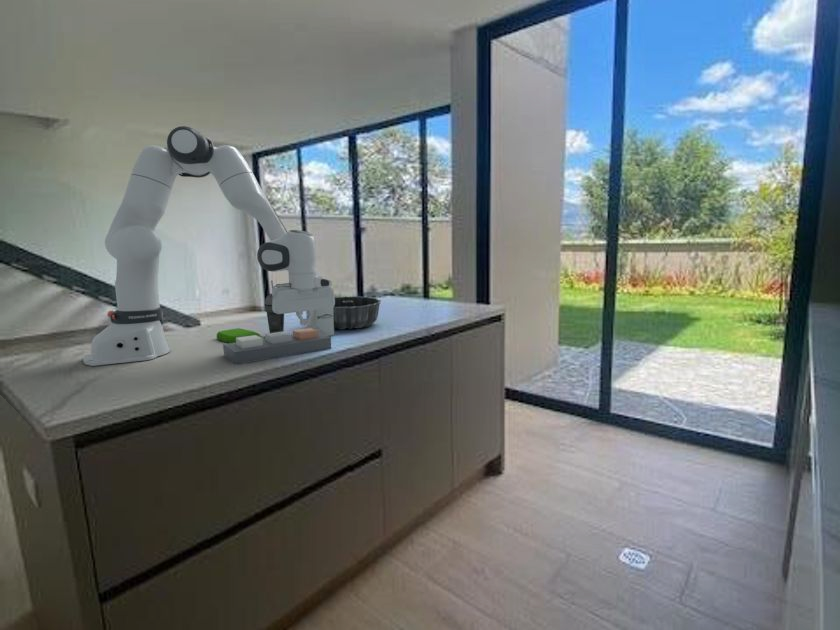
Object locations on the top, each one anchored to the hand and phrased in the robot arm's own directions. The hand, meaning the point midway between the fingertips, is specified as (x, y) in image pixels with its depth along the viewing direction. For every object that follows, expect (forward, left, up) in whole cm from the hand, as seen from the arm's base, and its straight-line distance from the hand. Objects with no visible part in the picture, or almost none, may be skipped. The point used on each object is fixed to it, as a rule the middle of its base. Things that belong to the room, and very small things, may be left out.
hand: (305, 324), depth 153 cm
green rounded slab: (-13, +20, -8) cm, 25 cm away
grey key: (-9, 0, -5) cm, 10 cm away
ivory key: (-18, 0, -5) cm, 19 cm away
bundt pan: (+29, +24, -8) cm, 38 cm away
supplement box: (+12, +14, -8) cm, 20 cm away
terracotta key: (0, 0, -5) cm, 5 cm away
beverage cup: (-1, +23, -8) cm, 24 cm away
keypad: (-9, 0, -8) cm, 12 cm away
